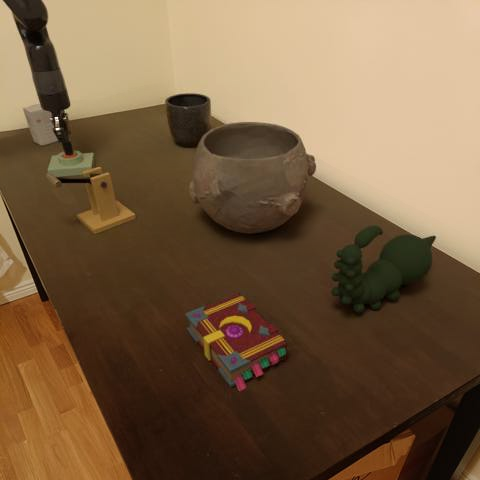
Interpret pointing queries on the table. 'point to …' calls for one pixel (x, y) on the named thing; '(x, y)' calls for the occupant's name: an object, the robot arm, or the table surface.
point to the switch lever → (68, 179)
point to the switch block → (71, 164)
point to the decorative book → (236, 339)
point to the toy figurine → (380, 268)
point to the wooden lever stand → (103, 204)
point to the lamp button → (69, 155)
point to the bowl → (250, 175)
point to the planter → (188, 117)
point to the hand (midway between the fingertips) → (69, 154)
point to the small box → (40, 124)
